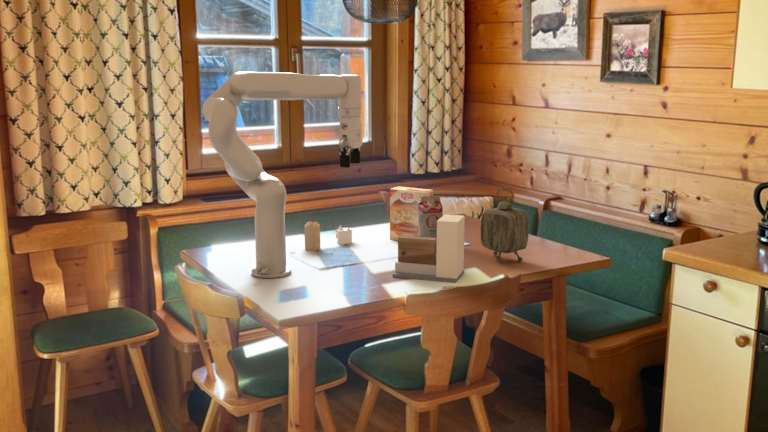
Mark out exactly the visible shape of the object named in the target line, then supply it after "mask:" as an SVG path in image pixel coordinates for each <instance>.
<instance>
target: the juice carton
mask: <svg viewBox="0 0 768 432" xmlns="http://www.w3.org/2000/svg"><path fill="white" fill-rule="evenodd" d="M443 208H444V207H443V205H442V201H441V195H433V196H422V197H421V202H420V203H419V204H418V236H419V237H433V238H437V220H439V219H440V218H441V217H442V216H444V214H443Z"/></svg>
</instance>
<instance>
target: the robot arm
mask: <svg viewBox="0 0 768 432" xmlns="http://www.w3.org/2000/svg"><path fill="white" fill-rule="evenodd" d="M245 100H247V101H274V100H275V101H297V100H298V101H300V100H301V101H302V100H337V105H338V106H337V110H338V111H337V114H338V116H337V117H338V118H339V128H338V129H339V131H338V136H339V137H338V140H339V141H338V147H339V148H338V149H339V167H340V168H347V169H348V168H350V167H351V164H360V163H361V147H362V146H363V129H362V127H363V126H362V78H361V76H360V75H358V74H341V75H340V74H339V75H337V74H329V73H328V74H326V73H324V74H320V75H319V74H317V75H316V74H303V73H302V74H301V73H297V72H296V73H295V72H287V71H286V72H284V71H283V72H279V71H278V72H277V71H276V72H275V71H274V72H273V71H269V72H268V71H244V70H243V71H237V72H234V73H233V74H232V75H231V76H230V77H228V78H227V80H225V81H224V82H223V83H222V84H221V85H220V86H219V87H218V88H216V90H215V91H214V92H212V94H210V95H209V96H208V98H207V99H205V101H204V103H203V106H202V114H203V117H204V118H205V120H206V121H207V122H208V138H209V140H210V144H211V145H212V148H213V149H214V150H215V151H216V153H217V154H218V155H219V156H220V158H221V159H222V160H223V161H224V165H223V166H224V168H225V170H226V173H227V175H229V176H230V177H231V179H232V180H233V181H234V182H235V183H236V185H238V187H240V189H241V190H242V191H243V192H244V193H245V194H246V195H247V196H248V197H249V198H250V199H251V200H252V201H255V203H256V204H255V212H254V235H255V236H254V237H255V262H256V263H255V265H256V266H255V267H254V268H252V269H251V275H253V276H254V277H257V278H263V279H277V278H283V277H286V276H289V275H290V274H291V273H292V269H291V267H289V266H288V265H287V253H286V247H287V244H286V220H285V219H286V218H285V217H286V216H285V215H286V202H287V189H286V186H285V185H284V183H283V182H282V181H281V180H280V179H279V178H278V177H275V176H273V175H271V174H268V173H267V172H266V171H265V169H264V168H263V164H262V161H261V159H260V157H259V156H258V155H257V154H256V153H255V152H254V151H253V150H252V149H251V148H250V147H249V146H248V144H247V143H246V142H245V141H244V139H243V138H242V137H241V136H240V134H239V133H238V130H237V122H238V118H239V109H238V107H239V106H240V105H241V104H242V103H243V102H244V101H245ZM350 150H351V151H350Z"/></svg>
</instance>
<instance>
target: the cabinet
mask: <svg viewBox="0 0 768 432" xmlns="http://www.w3.org/2000/svg"><path fill="white" fill-rule="evenodd" d="M465 219H466V216H465V215H458V214H457V215H456V214H447V213H445V214H443V216H442V217H441V218H440V219H439V220H437V257H436V265H428V264H416V263H404V262H398V261H396V262H394V272H393V273H392V278H400V279H412V280H421V281H422V280H423V281H433V282H442V283H443V282H444V283H454V284H455V283H457V282H458V281H459V280H460V278H461V277H462V276H463V274H464V273H465V268H464V267H465V228H466V227H465Z"/></svg>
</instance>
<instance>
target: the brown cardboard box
mask: <svg viewBox="0 0 768 432" xmlns="http://www.w3.org/2000/svg"><path fill="white" fill-rule="evenodd" d="M436 257H437V238H433V237H419V236H405V235H400V236H399V237H398V240H397V262H404V263H416V264H428V265H436Z"/></svg>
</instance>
